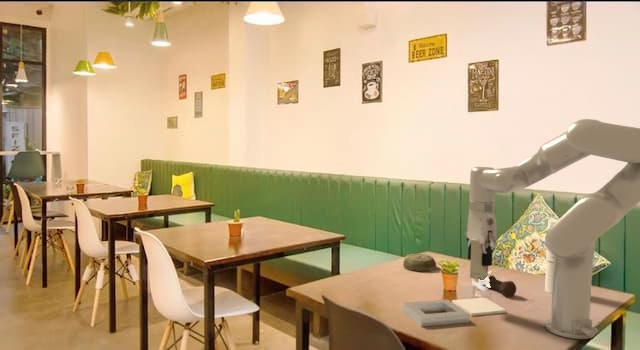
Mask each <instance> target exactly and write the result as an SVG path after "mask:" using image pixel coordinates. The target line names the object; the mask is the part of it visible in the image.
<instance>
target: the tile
mask: <svg viewBox="0 0 640 350" xmlns="http://www.w3.org/2000/svg"><path fill="white" fill-rule="evenodd" d="M451 302H452V303H454V304H455V305H457V306H458V307H460V308H461V309H463V310H464V311H465V312H467V313H468V314H469V316H471V317H472V316H473V317H476V316H484V315H485V316H487V315H495V314H496V315H497V314H506V313H507V312H508V311H507V309H505V308H503V307H502V306H500V305H498V304H496V303H495V302H493V301H491V300H490V299H488V298H487V297H475V298H465V299H464V298H462V299H452V300H451Z"/></svg>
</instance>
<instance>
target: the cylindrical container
mask: <svg viewBox="0 0 640 350" xmlns="http://www.w3.org/2000/svg"><path fill="white" fill-rule="evenodd" d="M559 219H560V218H558V219H555V218H552V219H548V221H547V230H548V229H549V228H550V227H551V226H552V225H553V224H554V223H555V222H556V221H557V220H559ZM554 259H555V256H554V255H553V254H552V253H550V251H549V250H548V249H547V248H546V259H545V260H546V261H545V280H544V281H545V282H544V283H545V285H544V290H545V292H547V293H549V294H552V289H553V270H554Z"/></svg>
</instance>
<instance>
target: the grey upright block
mask: <svg viewBox="0 0 640 350" xmlns="http://www.w3.org/2000/svg"><path fill="white" fill-rule="evenodd" d="M485 243H488V242H486V241H485ZM487 247H488V246H486V249H487ZM482 253H484V252H483V248H482V244H480V243H478V241H477V240H475V239H472V240H471V260H470V267H469V278H470V279H475V280H479V279H480V280H484V279H485V278H486V277H487V276H488V275H489V272H488V271H489V266H482Z"/></svg>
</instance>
